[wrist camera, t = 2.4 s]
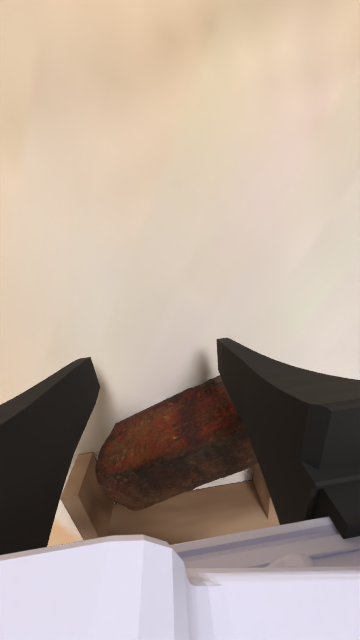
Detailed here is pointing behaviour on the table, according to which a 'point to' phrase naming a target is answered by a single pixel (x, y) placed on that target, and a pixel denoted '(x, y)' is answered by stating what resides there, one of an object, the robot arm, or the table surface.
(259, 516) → the book rack
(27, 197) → the table surface
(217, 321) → the table surface
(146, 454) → the brick
